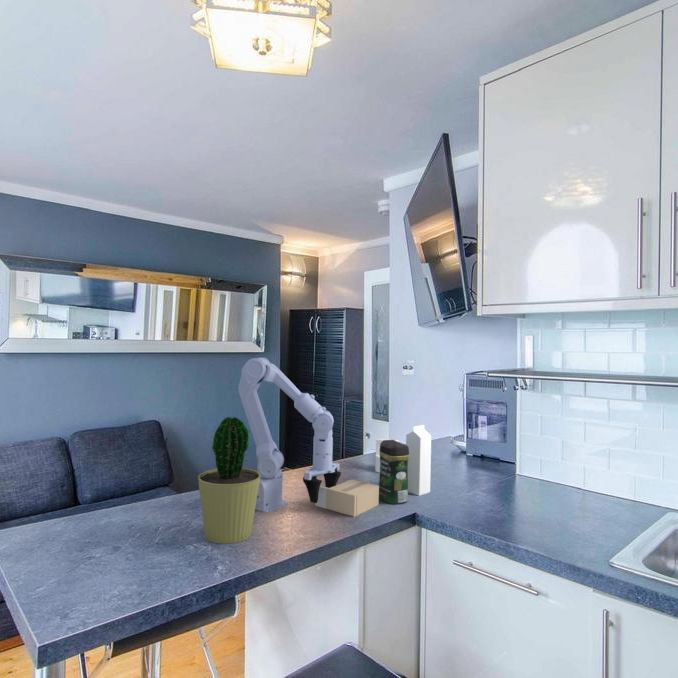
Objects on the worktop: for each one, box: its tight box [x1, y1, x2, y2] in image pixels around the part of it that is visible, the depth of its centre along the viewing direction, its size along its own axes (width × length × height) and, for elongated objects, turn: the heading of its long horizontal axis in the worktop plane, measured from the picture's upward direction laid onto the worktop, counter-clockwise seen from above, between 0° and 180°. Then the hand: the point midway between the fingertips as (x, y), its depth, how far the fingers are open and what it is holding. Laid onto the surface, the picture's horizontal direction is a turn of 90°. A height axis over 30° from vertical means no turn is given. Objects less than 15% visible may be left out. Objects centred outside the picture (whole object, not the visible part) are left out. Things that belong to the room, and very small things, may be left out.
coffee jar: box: [378, 439, 409, 505], centre depth 149 cm, size 10×8×19 cm
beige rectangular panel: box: [314, 485, 357, 518], centre depth 138 cm, size 1×14×6 cm, turn 54°
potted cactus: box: [197, 416, 261, 545], centre depth 120 cm, size 15×15×30 cm
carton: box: [331, 479, 380, 517], centre depth 142 cm, size 12×10×6 cm
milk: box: [405, 424, 432, 497], centre depth 158 cm, size 6×6×22 cm
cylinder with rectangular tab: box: [374, 437, 400, 474], centre depth 183 cm, size 9×9×12 cm
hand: (321, 499), depth 140 cm, fingers open, 7 cm apart
